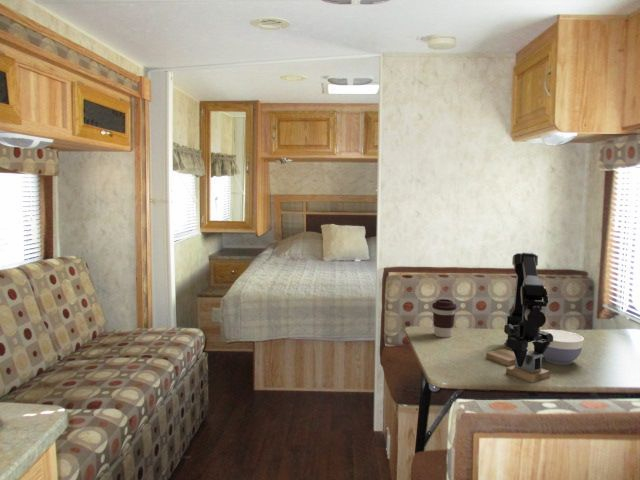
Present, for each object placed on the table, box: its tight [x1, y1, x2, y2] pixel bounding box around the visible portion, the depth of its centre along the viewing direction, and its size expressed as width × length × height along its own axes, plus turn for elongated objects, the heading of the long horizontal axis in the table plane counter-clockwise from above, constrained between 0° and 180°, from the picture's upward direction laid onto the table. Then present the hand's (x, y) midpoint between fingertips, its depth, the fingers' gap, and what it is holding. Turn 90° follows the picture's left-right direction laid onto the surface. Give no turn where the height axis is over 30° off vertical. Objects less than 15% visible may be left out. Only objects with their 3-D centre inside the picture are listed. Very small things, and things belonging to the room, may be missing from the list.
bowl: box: [540, 329, 585, 366], centre depth 205 cm, size 16×16×10 cm
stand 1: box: [485, 348, 515, 367], centre depth 205 cm, size 10×10×2 cm
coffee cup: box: [431, 298, 458, 338], centre depth 234 cm, size 10×10×15 cm
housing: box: [515, 349, 543, 374], centre depth 189 cm, size 5×7×6 cm
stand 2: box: [505, 365, 550, 384], centre depth 190 cm, size 10×10×2 cm
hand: (528, 364), depth 189 cm, fingers open, 9 cm apart
